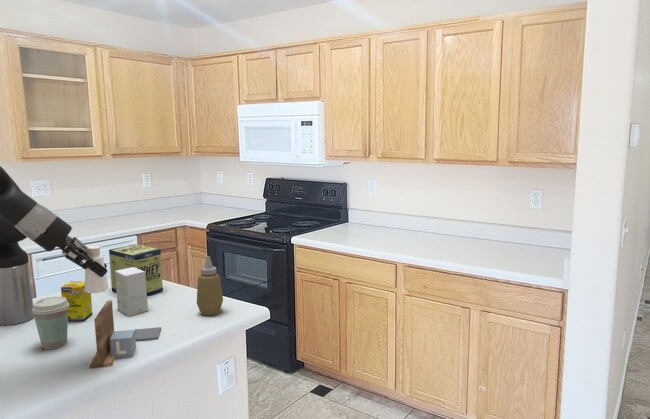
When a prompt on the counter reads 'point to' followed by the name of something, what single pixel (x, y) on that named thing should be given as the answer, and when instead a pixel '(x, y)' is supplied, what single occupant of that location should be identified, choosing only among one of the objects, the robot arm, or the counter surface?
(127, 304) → the small box
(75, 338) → the counter surface
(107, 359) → the screen
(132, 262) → the protein box
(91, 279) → the pepper shaker
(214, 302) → the squeeze bottle
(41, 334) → the coffee cup
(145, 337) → the pad
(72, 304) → the supplement box
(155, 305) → the counter surface
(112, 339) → the gray cube
